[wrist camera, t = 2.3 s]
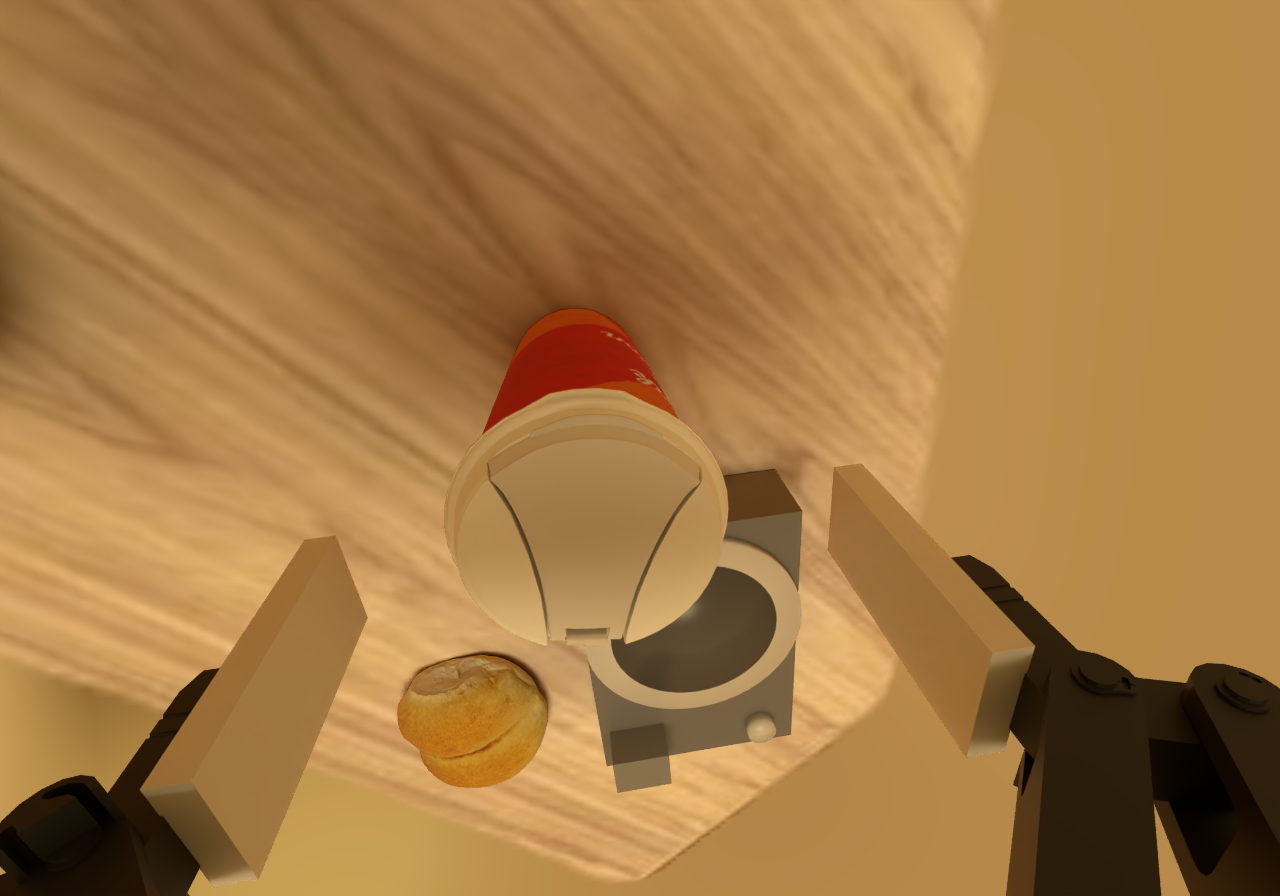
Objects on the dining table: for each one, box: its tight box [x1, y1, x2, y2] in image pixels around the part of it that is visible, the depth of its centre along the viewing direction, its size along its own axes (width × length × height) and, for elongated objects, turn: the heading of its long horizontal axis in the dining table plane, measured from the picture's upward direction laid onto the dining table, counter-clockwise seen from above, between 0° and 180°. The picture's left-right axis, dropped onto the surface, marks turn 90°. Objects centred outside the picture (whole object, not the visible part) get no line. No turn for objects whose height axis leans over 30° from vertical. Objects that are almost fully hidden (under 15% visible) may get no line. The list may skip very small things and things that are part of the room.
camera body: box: [585, 469, 802, 793], centre depth 32 cm, size 16×11×6 cm
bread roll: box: [397, 655, 548, 788], centre depth 35 cm, size 8×9×4 cm
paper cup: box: [444, 308, 728, 646], centre depth 21 cm, size 8×8×14 cm
